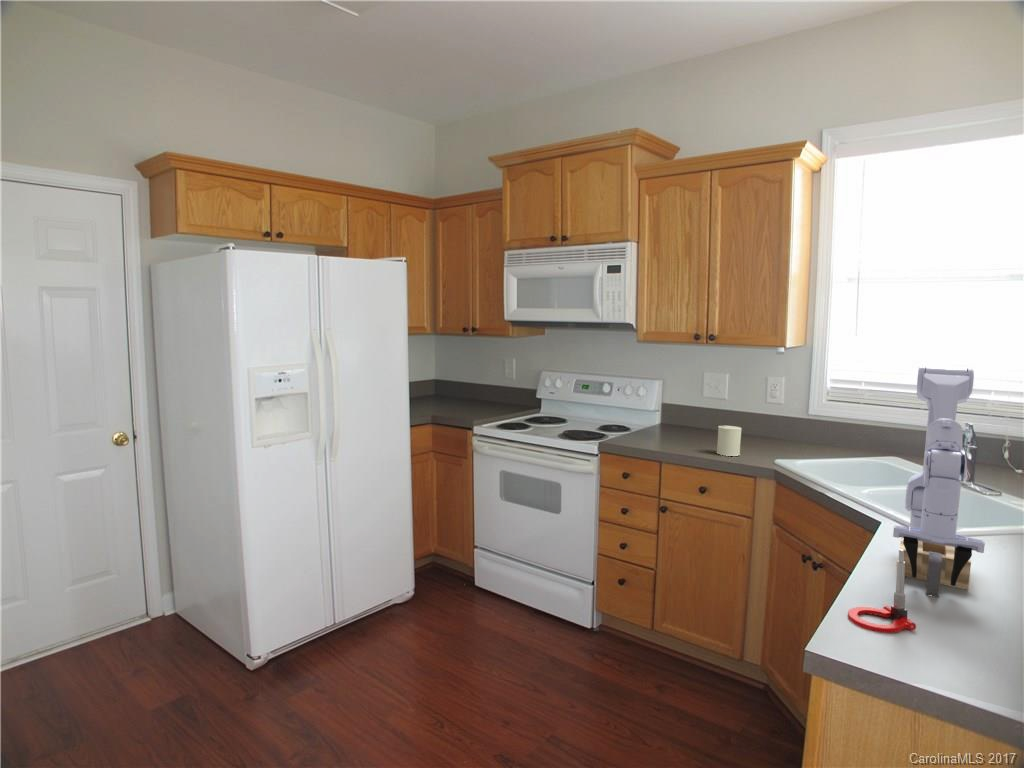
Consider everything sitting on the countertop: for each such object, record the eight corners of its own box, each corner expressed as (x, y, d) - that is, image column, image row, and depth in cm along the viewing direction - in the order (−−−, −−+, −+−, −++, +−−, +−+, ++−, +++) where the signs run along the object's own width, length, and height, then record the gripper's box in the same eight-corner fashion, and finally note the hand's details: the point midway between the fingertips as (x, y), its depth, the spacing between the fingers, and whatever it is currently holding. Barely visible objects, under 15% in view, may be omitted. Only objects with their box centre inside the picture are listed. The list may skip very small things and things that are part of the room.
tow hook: (867, 636, 104) (920, 633, 105) (870, 560, 103) (923, 558, 104) (837, 613, 112) (886, 611, 113) (839, 543, 111) (889, 541, 112)
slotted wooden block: (899, 559, 140) (901, 535, 139) (965, 572, 133) (967, 547, 133) (897, 574, 131) (899, 549, 130) (968, 589, 124) (971, 562, 124)
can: (722, 451, 264) (724, 423, 263) (743, 455, 258) (745, 426, 257) (712, 454, 257) (714, 425, 256) (733, 458, 251) (735, 428, 250)
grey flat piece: (925, 585, 126) (929, 551, 125) (938, 587, 125) (941, 553, 124) (926, 596, 120) (929, 561, 119) (938, 599, 119) (942, 563, 118)
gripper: (895, 509, 122) (889, 577, 123) (988, 524, 114) (981, 596, 115) (896, 501, 128) (890, 566, 129) (985, 515, 120) (978, 584, 121)
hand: (933, 579), depth 122 cm, fingers open, 6 cm apart
